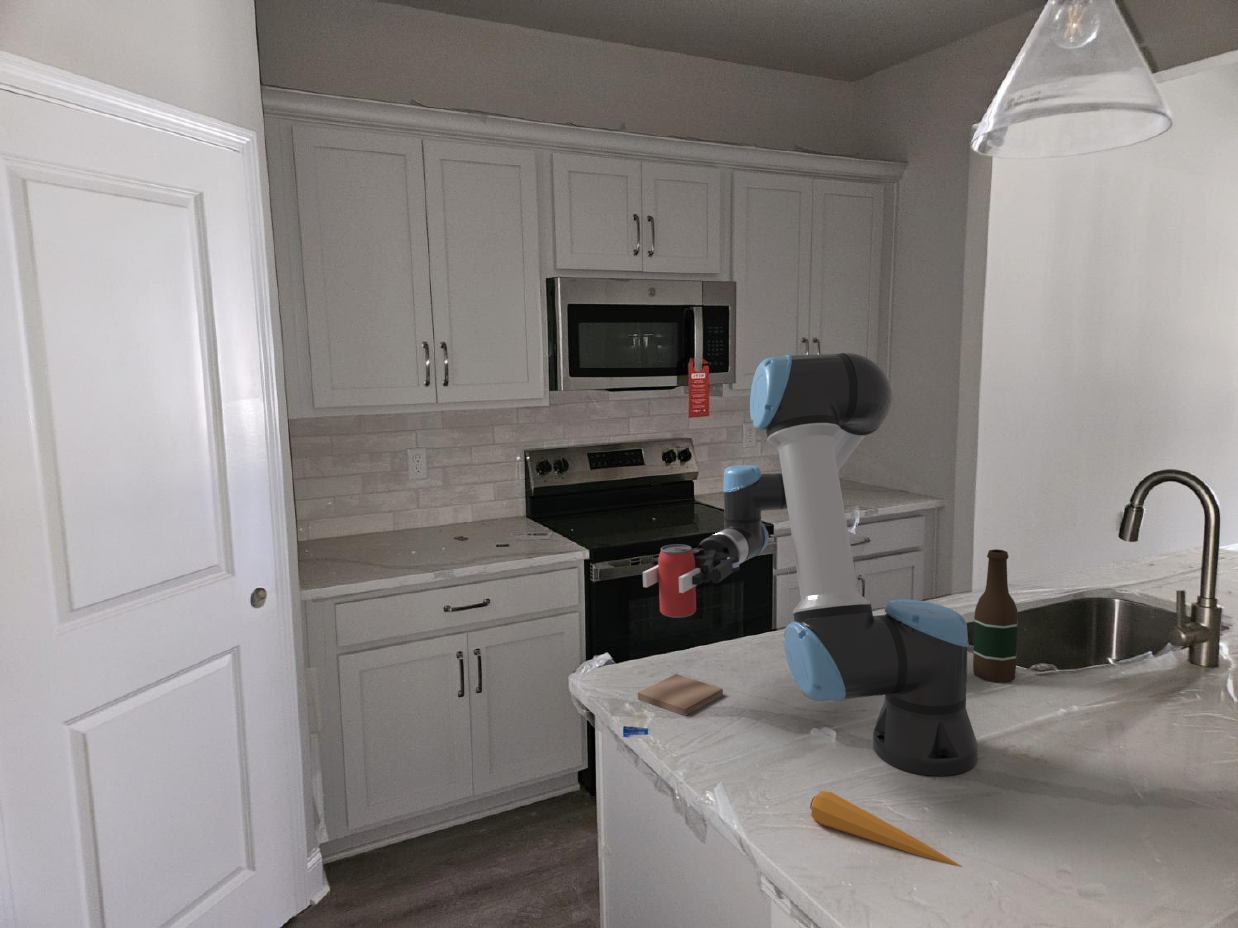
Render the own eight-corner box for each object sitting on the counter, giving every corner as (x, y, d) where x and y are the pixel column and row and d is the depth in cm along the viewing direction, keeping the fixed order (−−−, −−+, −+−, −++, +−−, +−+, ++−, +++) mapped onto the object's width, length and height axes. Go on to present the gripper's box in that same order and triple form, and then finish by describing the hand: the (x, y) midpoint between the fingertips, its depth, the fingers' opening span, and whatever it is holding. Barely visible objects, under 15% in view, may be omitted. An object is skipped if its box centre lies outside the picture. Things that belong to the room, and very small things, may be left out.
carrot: (807, 826, 110) (804, 805, 108) (821, 800, 113) (818, 779, 111) (961, 896, 99) (961, 873, 96) (973, 865, 101) (973, 842, 99)
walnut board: (722, 694, 150) (722, 688, 150) (685, 715, 142) (684, 709, 142) (676, 679, 158) (676, 673, 157) (638, 698, 150) (637, 692, 150)
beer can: (694, 619, 144) (692, 552, 142) (657, 618, 145) (654, 552, 143) (698, 607, 150) (696, 543, 149) (662, 606, 152) (660, 543, 150)
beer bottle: (984, 664, 159) (987, 543, 156) (1024, 675, 153) (1029, 550, 150) (964, 675, 155) (966, 551, 151) (1005, 687, 149) (1009, 558, 145)
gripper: (768, 576, 157) (713, 611, 138) (679, 564, 167) (616, 595, 148) (767, 538, 156) (712, 568, 137) (678, 528, 166) (615, 555, 147)
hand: (662, 582), depth 143 cm, fingers closed on beer can, 6 cm apart
